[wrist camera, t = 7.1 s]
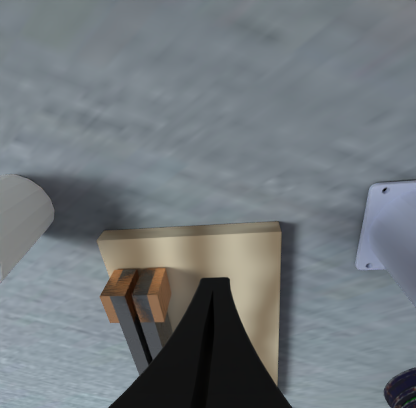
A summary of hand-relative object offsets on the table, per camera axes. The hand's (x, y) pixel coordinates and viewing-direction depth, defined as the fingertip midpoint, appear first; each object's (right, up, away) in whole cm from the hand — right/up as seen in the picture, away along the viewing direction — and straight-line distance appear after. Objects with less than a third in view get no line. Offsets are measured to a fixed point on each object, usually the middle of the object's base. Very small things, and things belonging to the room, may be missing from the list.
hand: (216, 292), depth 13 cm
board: (-1, -9, +15) cm, 18 cm away
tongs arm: (-4, -9, +14) cm, 18 cm away
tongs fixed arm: (-5, -11, +15) cm, 19 cm away
